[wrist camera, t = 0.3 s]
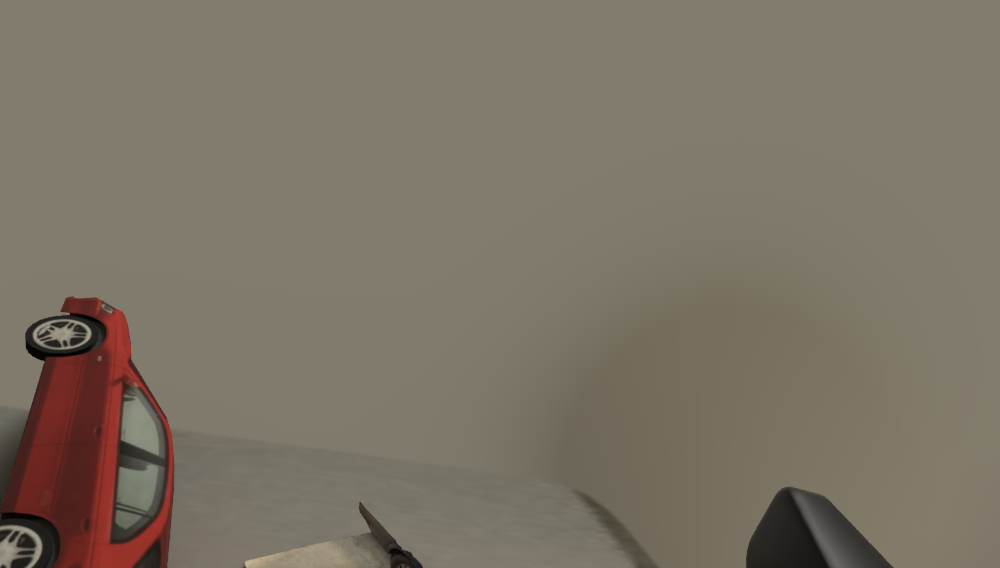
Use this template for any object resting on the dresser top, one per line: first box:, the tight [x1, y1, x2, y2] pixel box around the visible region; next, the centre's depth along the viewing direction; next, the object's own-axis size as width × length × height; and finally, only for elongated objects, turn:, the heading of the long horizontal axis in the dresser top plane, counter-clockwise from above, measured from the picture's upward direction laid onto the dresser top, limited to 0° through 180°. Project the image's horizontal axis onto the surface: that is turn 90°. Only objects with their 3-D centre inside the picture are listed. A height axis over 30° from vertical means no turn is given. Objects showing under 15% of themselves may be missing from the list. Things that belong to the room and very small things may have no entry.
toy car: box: [0, 297, 174, 568], centre depth 23 cm, size 6×15×5 cm
